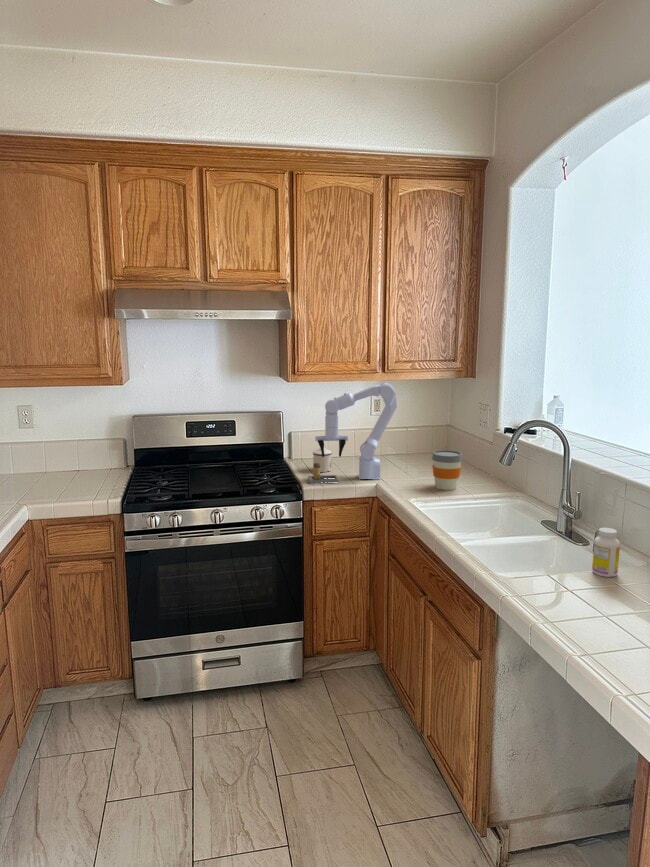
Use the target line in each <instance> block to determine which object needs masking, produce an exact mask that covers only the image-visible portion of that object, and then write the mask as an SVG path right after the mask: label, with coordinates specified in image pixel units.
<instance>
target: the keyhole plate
mask: <svg viewBox="0 0 650 867" xmlns="http://www.w3.org/2000/svg"><path fill="white" fill-rule="evenodd" d="M324 478H327V479H324ZM328 478H335V479H328ZM308 480H309V481H308ZM307 481H308V484H309V483H321V482H323V483H325V482H327V484H329V483H328V482H339V483H340V480H339V477H338V476H337V475H336V474H334V475H333V474H332V475H331V474H330V475H328V474H327V475H326V474H325V475H324V474H323V475H320V479H313V475H307Z"/></svg>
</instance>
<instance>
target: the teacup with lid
mask: <svg viewBox="0 0 650 867" xmlns="http://www.w3.org/2000/svg"><path fill="white" fill-rule="evenodd" d="M332 455H333V452H332V451H331V450H329V449H327V448H326V447H325V446H324V457H322V452H321V448H320V447H319V448H318V449H316V450H313V452H312V457H313V458H312V459H313V461H312V462H313V464H314V463H320V472H325V473H327V472H326V471H330V470H331V471H332ZM313 464H312V465H313ZM331 471H330V472H331Z"/></svg>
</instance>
